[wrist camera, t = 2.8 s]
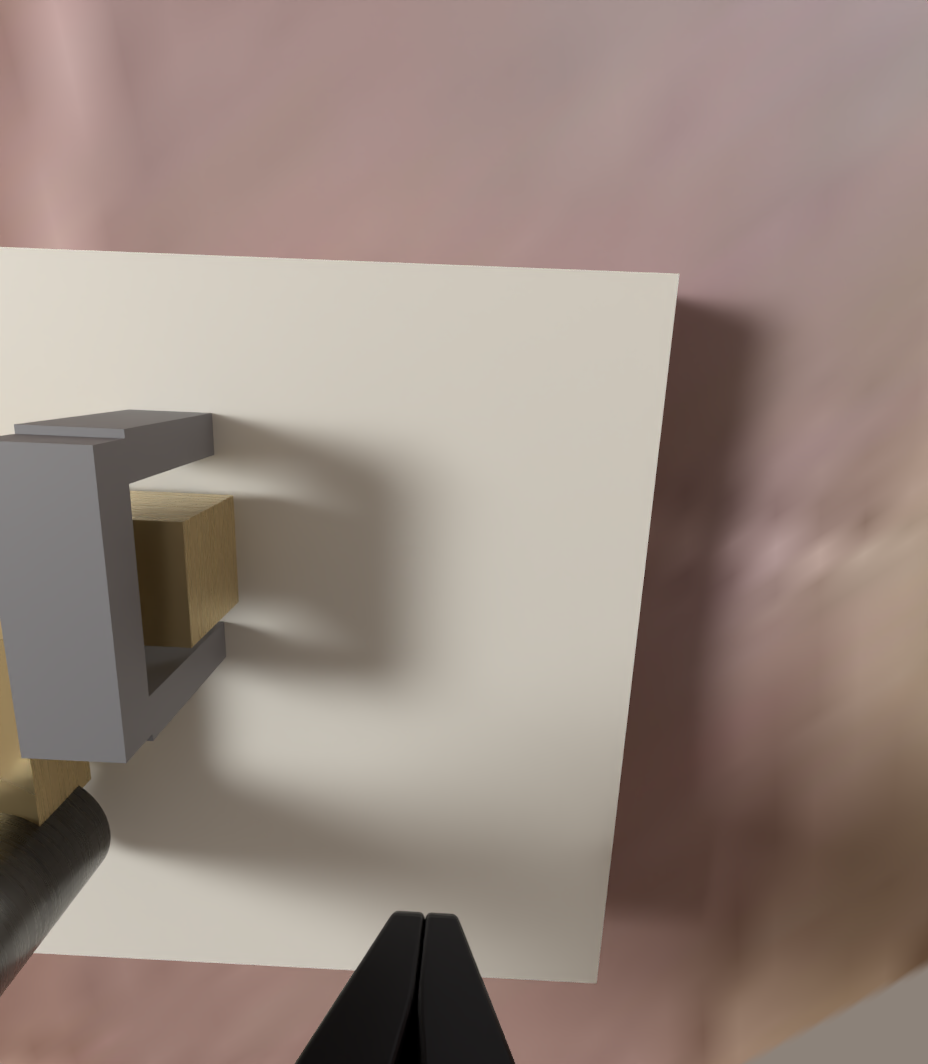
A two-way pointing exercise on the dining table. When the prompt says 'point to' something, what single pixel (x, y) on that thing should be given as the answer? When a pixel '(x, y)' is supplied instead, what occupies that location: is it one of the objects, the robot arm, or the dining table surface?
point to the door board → (335, 593)
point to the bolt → (57, 785)
